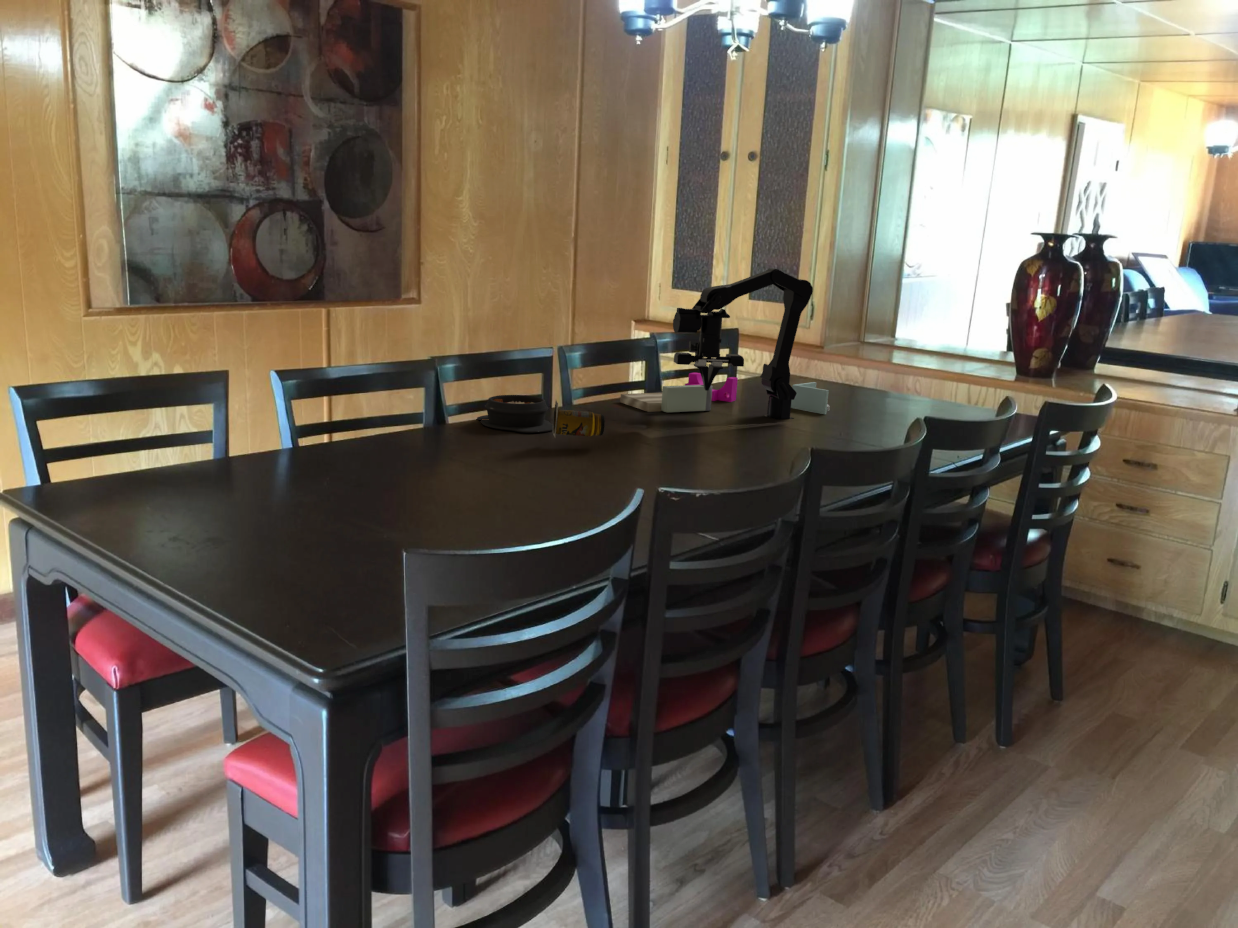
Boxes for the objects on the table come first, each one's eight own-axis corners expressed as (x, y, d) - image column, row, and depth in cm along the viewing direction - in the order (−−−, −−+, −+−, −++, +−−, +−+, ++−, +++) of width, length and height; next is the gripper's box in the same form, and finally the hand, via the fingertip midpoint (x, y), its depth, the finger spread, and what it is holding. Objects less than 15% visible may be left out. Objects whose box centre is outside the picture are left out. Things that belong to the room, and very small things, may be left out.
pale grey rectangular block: (706, 408, 284) (708, 384, 282) (712, 410, 281) (714, 386, 279) (660, 410, 276) (662, 386, 274) (667, 412, 273) (668, 387, 272)
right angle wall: (824, 415, 286) (827, 390, 284) (790, 409, 294) (792, 384, 292) (845, 412, 295) (847, 387, 293) (811, 406, 303) (813, 382, 301)
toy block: (683, 398, 304) (685, 374, 303) (692, 395, 310) (694, 372, 308) (727, 404, 297) (729, 379, 295) (735, 401, 302) (737, 377, 301)
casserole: (460, 425, 261) (460, 394, 260) (515, 419, 274) (516, 389, 272) (516, 442, 244) (517, 409, 242) (573, 435, 256) (574, 403, 255)
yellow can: (554, 438, 231) (604, 441, 234) (557, 403, 230) (607, 406, 232) (551, 432, 238) (599, 435, 241) (554, 398, 237) (602, 401, 239)
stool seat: (706, 409, 284) (707, 400, 284) (648, 411, 274) (648, 403, 274) (676, 400, 298) (677, 392, 297) (620, 402, 288) (620, 394, 287)
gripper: (736, 332, 275) (731, 386, 279) (671, 330, 273) (668, 385, 276) (746, 336, 265) (742, 393, 268) (679, 334, 262) (675, 391, 266)
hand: (706, 390), depth 270 cm, fingers closed
